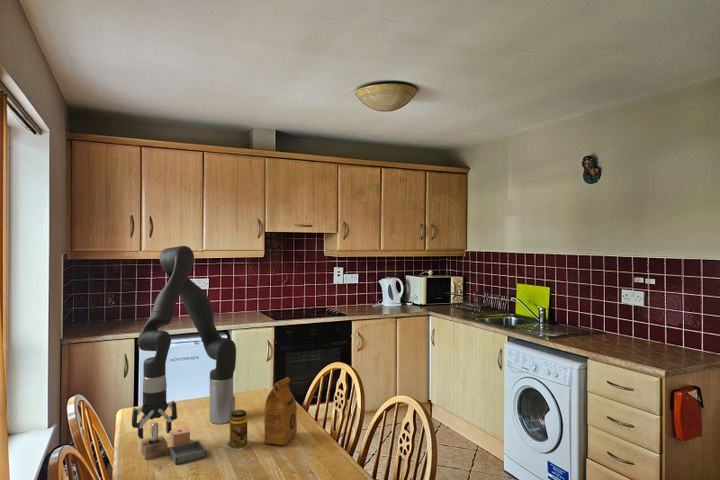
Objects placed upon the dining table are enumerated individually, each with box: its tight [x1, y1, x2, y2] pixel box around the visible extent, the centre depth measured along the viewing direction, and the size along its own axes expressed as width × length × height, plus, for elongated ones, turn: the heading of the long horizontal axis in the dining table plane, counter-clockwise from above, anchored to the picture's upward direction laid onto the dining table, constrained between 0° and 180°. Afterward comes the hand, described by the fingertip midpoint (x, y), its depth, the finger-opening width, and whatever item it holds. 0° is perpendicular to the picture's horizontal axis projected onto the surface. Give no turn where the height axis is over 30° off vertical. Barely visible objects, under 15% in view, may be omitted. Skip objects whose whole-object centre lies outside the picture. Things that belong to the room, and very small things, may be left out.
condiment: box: [221, 409, 252, 451], centre depth 174 cm, size 7×8×12 cm
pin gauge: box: [150, 422, 159, 444], centre depth 167 cm, size 2×2×10 cm
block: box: [169, 426, 191, 447], centre depth 174 cm, size 6×6×5 cm
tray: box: [168, 440, 207, 466], centre depth 165 cm, size 10×9×2 cm
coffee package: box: [263, 376, 298, 446], centre depth 178 cm, size 10×12×22 cm
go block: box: [140, 435, 168, 460], centre depth 167 cm, size 7×7×4 cm
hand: (154, 435), depth 167 cm, fingers open, 8 cm apart
